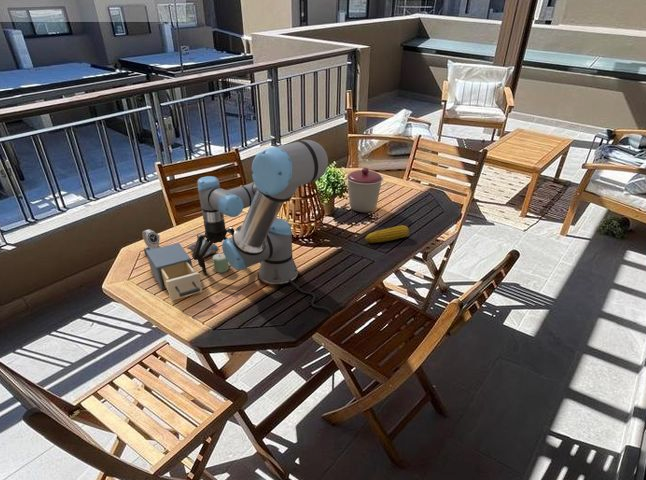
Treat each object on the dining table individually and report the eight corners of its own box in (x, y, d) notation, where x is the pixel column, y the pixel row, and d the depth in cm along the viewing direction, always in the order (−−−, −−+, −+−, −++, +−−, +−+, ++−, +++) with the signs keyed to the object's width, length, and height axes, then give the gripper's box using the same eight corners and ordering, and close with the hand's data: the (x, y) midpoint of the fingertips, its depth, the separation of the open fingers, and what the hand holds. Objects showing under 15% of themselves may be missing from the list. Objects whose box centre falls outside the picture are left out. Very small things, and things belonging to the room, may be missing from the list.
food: (403, 234, 207) (404, 222, 204) (409, 239, 203) (411, 227, 200) (362, 241, 200) (363, 229, 196) (368, 247, 196) (369, 235, 192)
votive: (231, 269, 178) (229, 255, 175) (219, 274, 175) (217, 260, 171) (224, 264, 181) (222, 250, 178) (211, 268, 178) (209, 254, 175)
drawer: (208, 299, 160) (204, 281, 155) (176, 309, 154) (171, 290, 150) (190, 274, 173) (186, 257, 168) (160, 283, 167) (155, 265, 163)
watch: (153, 260, 182) (147, 236, 176) (143, 254, 186) (136, 230, 180) (166, 255, 186) (160, 231, 179) (155, 249, 190) (149, 225, 183)
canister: (381, 216, 222) (385, 174, 209) (345, 215, 222) (346, 173, 209) (379, 202, 237) (382, 162, 224) (345, 201, 236) (346, 161, 224)
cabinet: (195, 280, 171) (190, 258, 165) (161, 289, 165) (156, 267, 160) (183, 263, 181) (178, 242, 175) (151, 272, 175) (145, 250, 169)
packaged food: (203, 261, 182) (201, 250, 180) (186, 251, 189) (184, 241, 186) (221, 254, 188) (219, 243, 185) (204, 245, 194) (202, 234, 191)
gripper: (241, 208, 174) (246, 256, 186) (177, 222, 162) (187, 272, 175) (249, 215, 169) (253, 264, 181) (183, 230, 157) (193, 281, 170)
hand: (221, 268), depth 178 cm, fingers open, 13 cm apart
